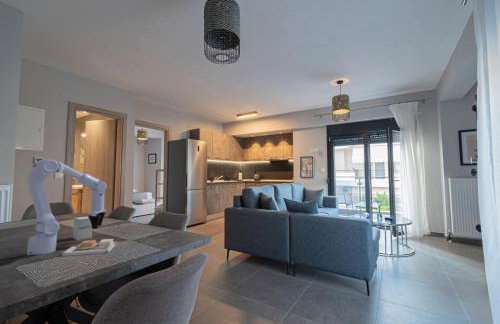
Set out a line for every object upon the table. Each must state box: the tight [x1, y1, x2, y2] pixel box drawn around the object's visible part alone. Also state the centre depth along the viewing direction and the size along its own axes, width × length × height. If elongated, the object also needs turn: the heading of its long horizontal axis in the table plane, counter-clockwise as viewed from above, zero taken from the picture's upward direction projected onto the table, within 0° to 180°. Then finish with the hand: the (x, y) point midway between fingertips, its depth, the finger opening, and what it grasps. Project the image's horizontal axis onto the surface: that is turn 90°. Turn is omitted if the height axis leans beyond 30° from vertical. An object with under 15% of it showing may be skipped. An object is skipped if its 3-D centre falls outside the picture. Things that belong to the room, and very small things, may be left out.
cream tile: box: [98, 238, 114, 246], centre depth 118 cm, size 5×5×2 cm
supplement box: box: [72, 216, 93, 241], centre depth 130 cm, size 7×7×13 cm
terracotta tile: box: [80, 239, 97, 247], centre depth 116 cm, size 5×5×2 cm
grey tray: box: [61, 244, 115, 257], centre depth 107 cm, size 18×10×2 cm, turn 107°
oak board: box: [75, 241, 119, 250], centre depth 116 cm, size 18×9×1 cm, turn 107°
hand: (96, 227), depth 124 cm, fingers open, 7 cm apart
